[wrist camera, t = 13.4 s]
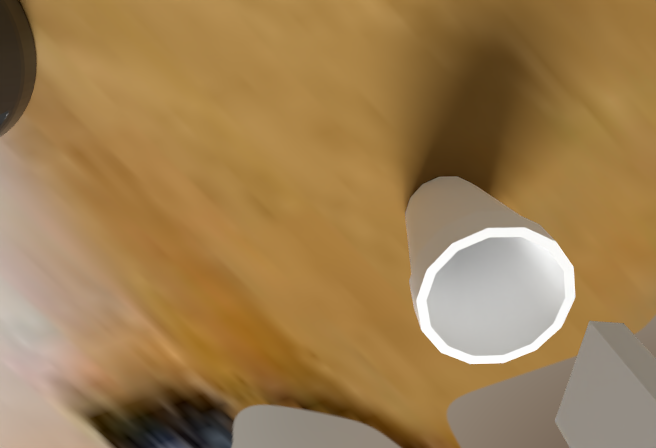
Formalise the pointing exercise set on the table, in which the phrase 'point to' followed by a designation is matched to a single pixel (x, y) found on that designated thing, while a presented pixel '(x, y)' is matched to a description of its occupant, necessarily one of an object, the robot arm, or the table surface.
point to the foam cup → (483, 274)
